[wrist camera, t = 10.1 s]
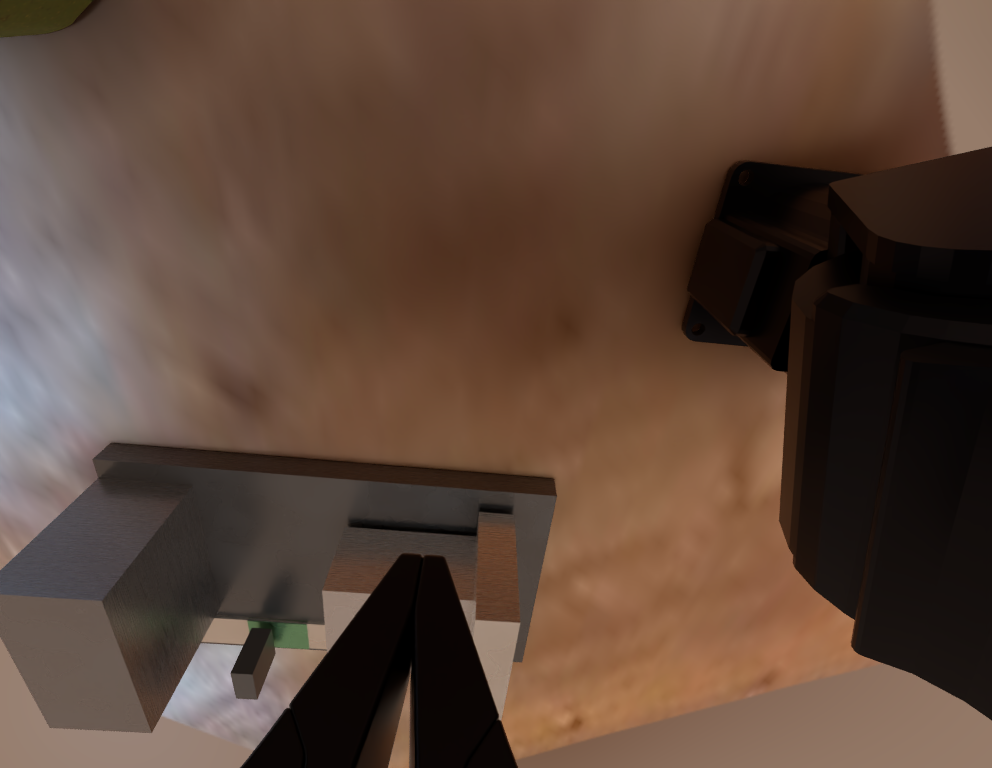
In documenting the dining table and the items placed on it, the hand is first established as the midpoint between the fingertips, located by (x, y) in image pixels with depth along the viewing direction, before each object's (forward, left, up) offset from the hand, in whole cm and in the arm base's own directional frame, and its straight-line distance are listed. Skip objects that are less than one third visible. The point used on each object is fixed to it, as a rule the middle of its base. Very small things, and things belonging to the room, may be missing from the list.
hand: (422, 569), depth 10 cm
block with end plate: (+1, +13, -11) cm, 17 cm away
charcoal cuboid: (+9, +18, -10) cm, 22 cm away
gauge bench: (+5, +13, -12) cm, 18 cm away
